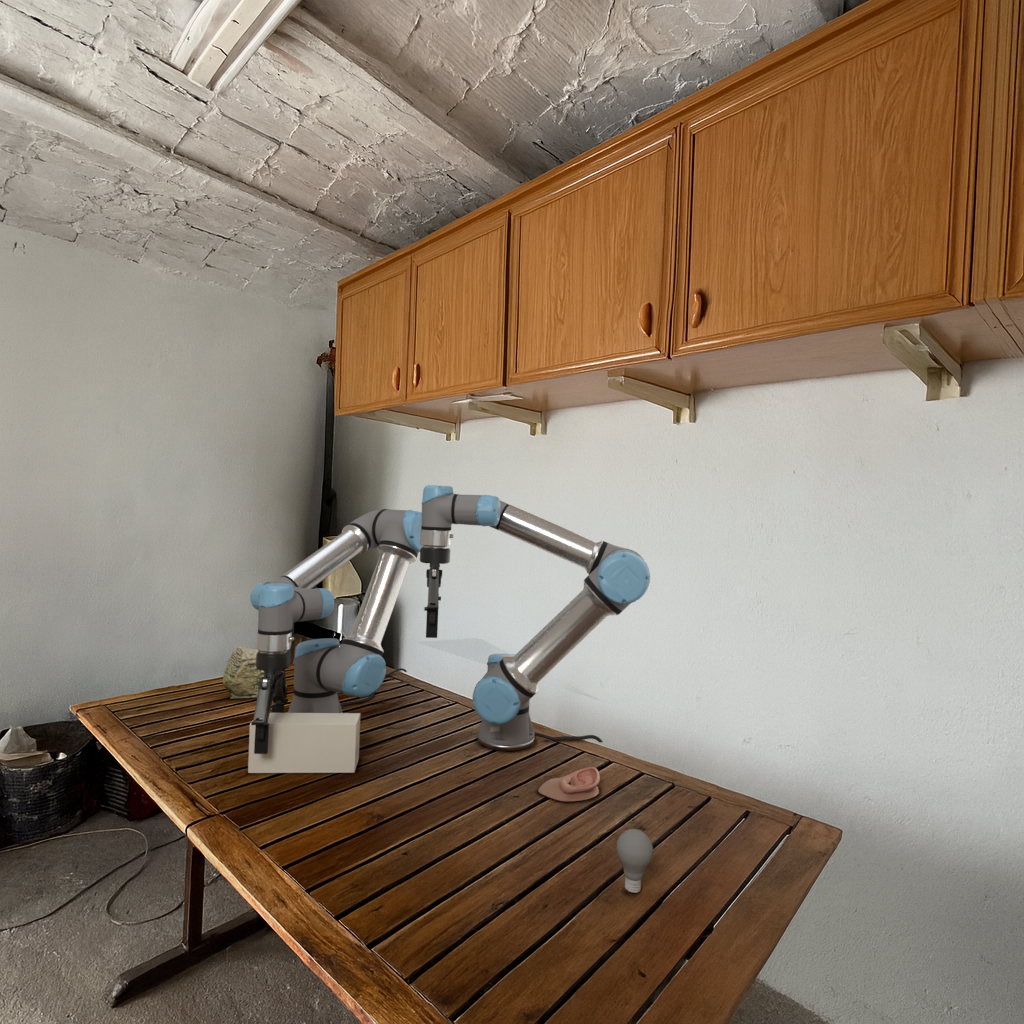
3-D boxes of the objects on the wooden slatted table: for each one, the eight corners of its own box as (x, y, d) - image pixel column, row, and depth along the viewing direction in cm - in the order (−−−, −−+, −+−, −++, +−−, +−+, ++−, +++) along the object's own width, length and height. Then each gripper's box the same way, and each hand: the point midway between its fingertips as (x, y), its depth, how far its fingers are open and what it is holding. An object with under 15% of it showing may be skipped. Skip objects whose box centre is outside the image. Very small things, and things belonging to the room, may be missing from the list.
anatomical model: (536, 779, 137) (544, 758, 148) (535, 797, 137) (543, 775, 148) (598, 787, 134) (601, 766, 146) (597, 806, 134) (600, 783, 146)
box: (247, 773, 143) (249, 723, 143) (257, 759, 151) (259, 712, 151) (354, 772, 146) (356, 724, 146) (358, 759, 153) (360, 713, 153)
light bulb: (610, 879, 108) (613, 822, 108) (644, 879, 109) (647, 822, 109) (619, 902, 102) (622, 840, 102) (655, 901, 103) (658, 840, 103)
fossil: (218, 695, 195) (220, 647, 195) (278, 685, 208) (279, 640, 207) (228, 703, 189) (230, 653, 188) (289, 692, 201) (290, 645, 201)
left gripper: (276, 664, 135) (271, 763, 135) (302, 639, 160) (297, 723, 160) (240, 663, 134) (234, 763, 134) (271, 639, 159) (267, 723, 159)
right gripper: (451, 551, 146) (447, 643, 147) (449, 543, 171) (446, 622, 172) (418, 550, 145) (414, 642, 146) (421, 542, 170) (418, 621, 171)
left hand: (269, 742), depth 147 cm, fingers open, 13 cm apart
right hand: (431, 631), depth 159 cm, fingers open, 13 cm apart
